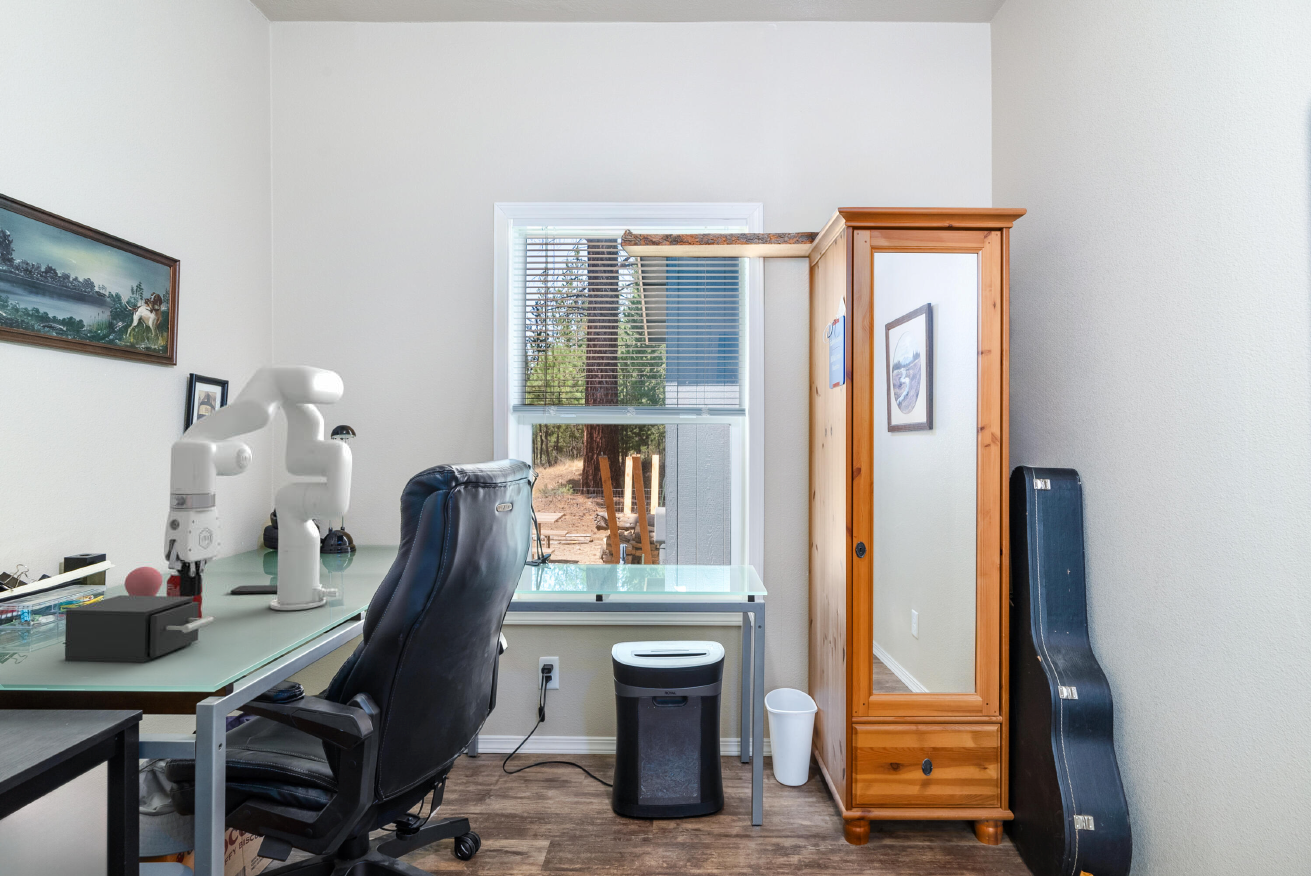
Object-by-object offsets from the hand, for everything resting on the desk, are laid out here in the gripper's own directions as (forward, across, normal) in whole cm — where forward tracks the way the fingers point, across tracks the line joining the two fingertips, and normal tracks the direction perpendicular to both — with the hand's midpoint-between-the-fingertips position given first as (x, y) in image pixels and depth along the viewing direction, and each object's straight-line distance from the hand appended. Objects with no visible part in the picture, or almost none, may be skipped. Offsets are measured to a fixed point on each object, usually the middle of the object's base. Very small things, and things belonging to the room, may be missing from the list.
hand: (190, 595), depth 135 cm
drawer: (+11, 0, +7) cm, 13 cm away
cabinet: (+12, 0, +12) cm, 17 cm away
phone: (+11, +55, +19) cm, 59 cm away
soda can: (+12, +20, +16) cm, 28 cm away
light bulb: (+11, +25, +29) cm, 40 cm away
